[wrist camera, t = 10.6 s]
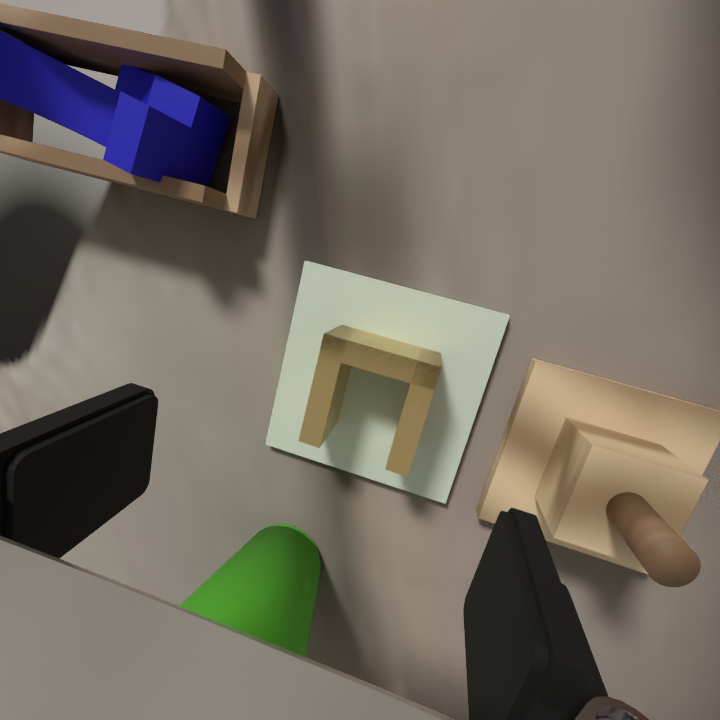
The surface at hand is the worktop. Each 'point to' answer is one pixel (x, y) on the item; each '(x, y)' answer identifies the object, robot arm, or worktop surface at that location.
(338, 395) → the c link
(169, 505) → the worktop surface
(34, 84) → the blue stepped block
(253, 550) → the cup
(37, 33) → the clip holder
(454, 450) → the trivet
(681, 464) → the peg stand
